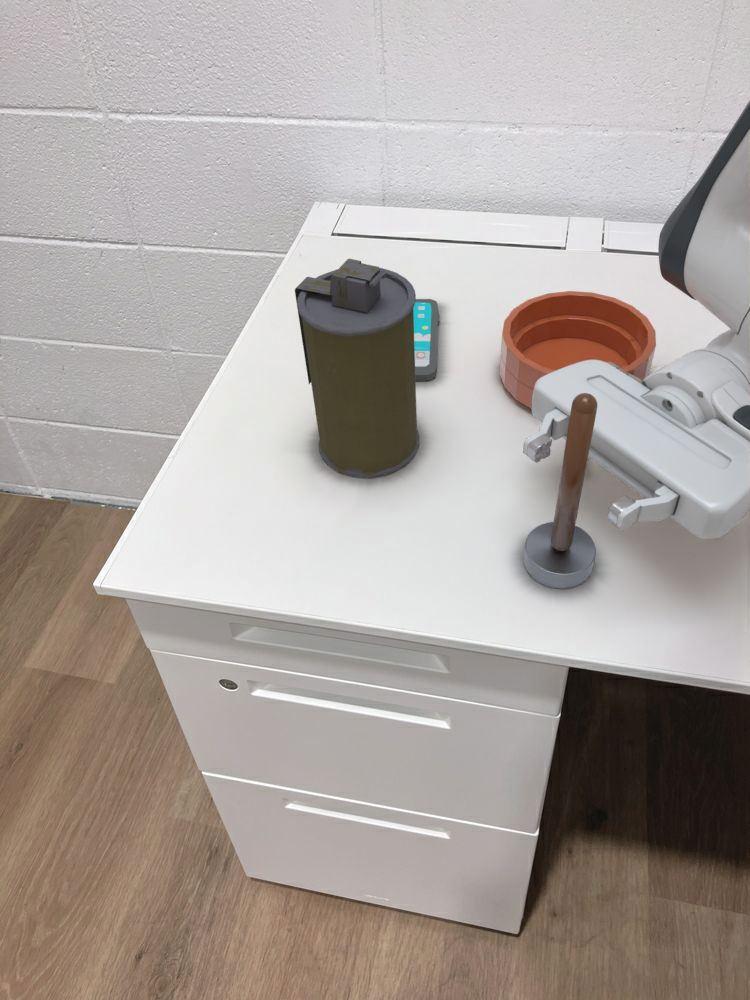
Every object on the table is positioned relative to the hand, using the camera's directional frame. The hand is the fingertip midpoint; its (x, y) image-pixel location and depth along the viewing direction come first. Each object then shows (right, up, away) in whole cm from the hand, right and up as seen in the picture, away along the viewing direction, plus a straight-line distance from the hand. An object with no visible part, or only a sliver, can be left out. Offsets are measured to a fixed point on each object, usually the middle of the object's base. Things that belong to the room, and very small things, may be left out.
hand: (569, 484), depth 63 cm
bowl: (+6, +12, +25) cm, 28 cm away
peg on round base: (+1, -7, +7) cm, 10 cm away
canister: (-16, +5, +20) cm, 26 cm away
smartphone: (-12, +17, +31) cm, 38 cm away
